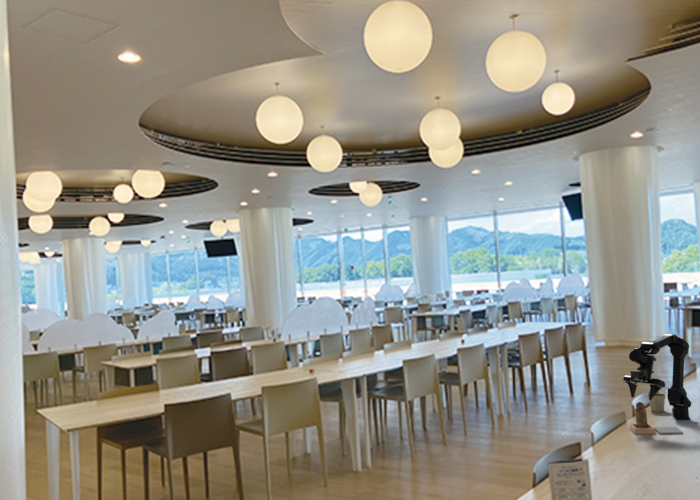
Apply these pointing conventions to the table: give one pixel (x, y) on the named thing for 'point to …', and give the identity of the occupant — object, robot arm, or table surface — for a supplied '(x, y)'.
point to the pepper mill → (641, 415)
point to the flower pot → (657, 402)
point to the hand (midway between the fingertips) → (641, 398)
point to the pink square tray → (642, 429)
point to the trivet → (668, 430)
